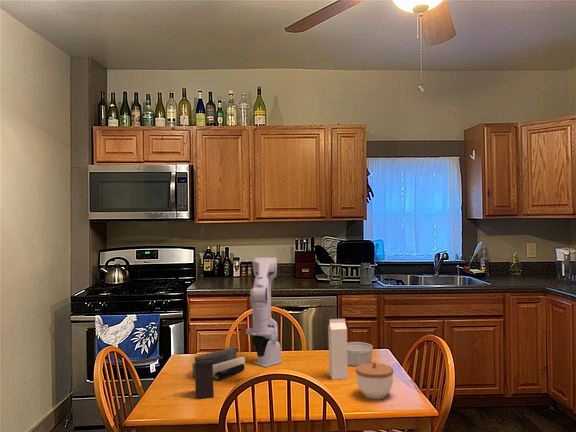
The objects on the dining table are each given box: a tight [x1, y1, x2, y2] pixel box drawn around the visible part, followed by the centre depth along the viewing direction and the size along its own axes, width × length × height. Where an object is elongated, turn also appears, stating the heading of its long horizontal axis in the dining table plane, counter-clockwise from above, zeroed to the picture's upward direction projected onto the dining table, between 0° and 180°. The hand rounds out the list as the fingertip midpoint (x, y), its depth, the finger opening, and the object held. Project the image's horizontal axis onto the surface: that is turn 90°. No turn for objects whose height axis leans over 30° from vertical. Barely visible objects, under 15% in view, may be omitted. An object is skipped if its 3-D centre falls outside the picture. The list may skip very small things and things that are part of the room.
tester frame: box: [191, 346, 237, 378], centre depth 196 cm, size 21×8×7 cm, turn 134°
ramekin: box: [347, 341, 373, 367], centre depth 205 cm, size 13×13×7 cm
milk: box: [327, 318, 349, 381], centre depth 187 cm, size 6×6×22 cm
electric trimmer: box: [213, 364, 246, 382], centre depth 192 cm, size 4×16×3 cm, turn 142°
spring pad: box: [213, 356, 246, 376], centre depth 193 cm, size 21×2×6 cm, turn 134°
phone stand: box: [194, 359, 215, 400], centre depth 172 cm, size 9×6×12 cm, turn 11°
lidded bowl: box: [355, 361, 394, 400], centre depth 168 cm, size 13×13×11 cm
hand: (260, 356), depth 184 cm, fingers closed
